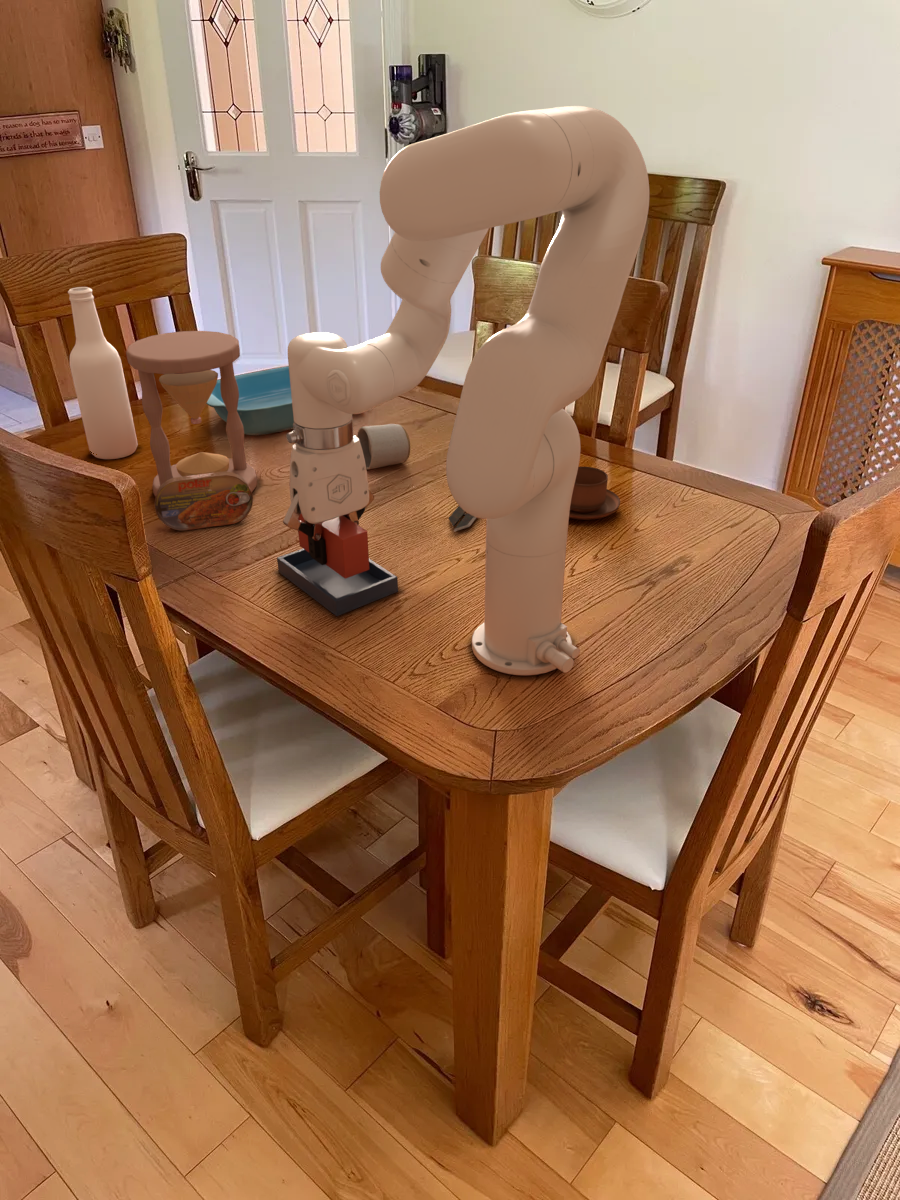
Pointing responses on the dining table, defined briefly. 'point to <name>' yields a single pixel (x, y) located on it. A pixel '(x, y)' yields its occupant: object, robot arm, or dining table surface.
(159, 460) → the hourglass
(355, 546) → the bar
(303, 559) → the tray
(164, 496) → the tin
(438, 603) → the dining table surface
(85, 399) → the alcohol
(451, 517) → the knife
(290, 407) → the casserole dish
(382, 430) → the ceramic mug
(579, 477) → the cup and saucer
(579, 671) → the dining table surface
